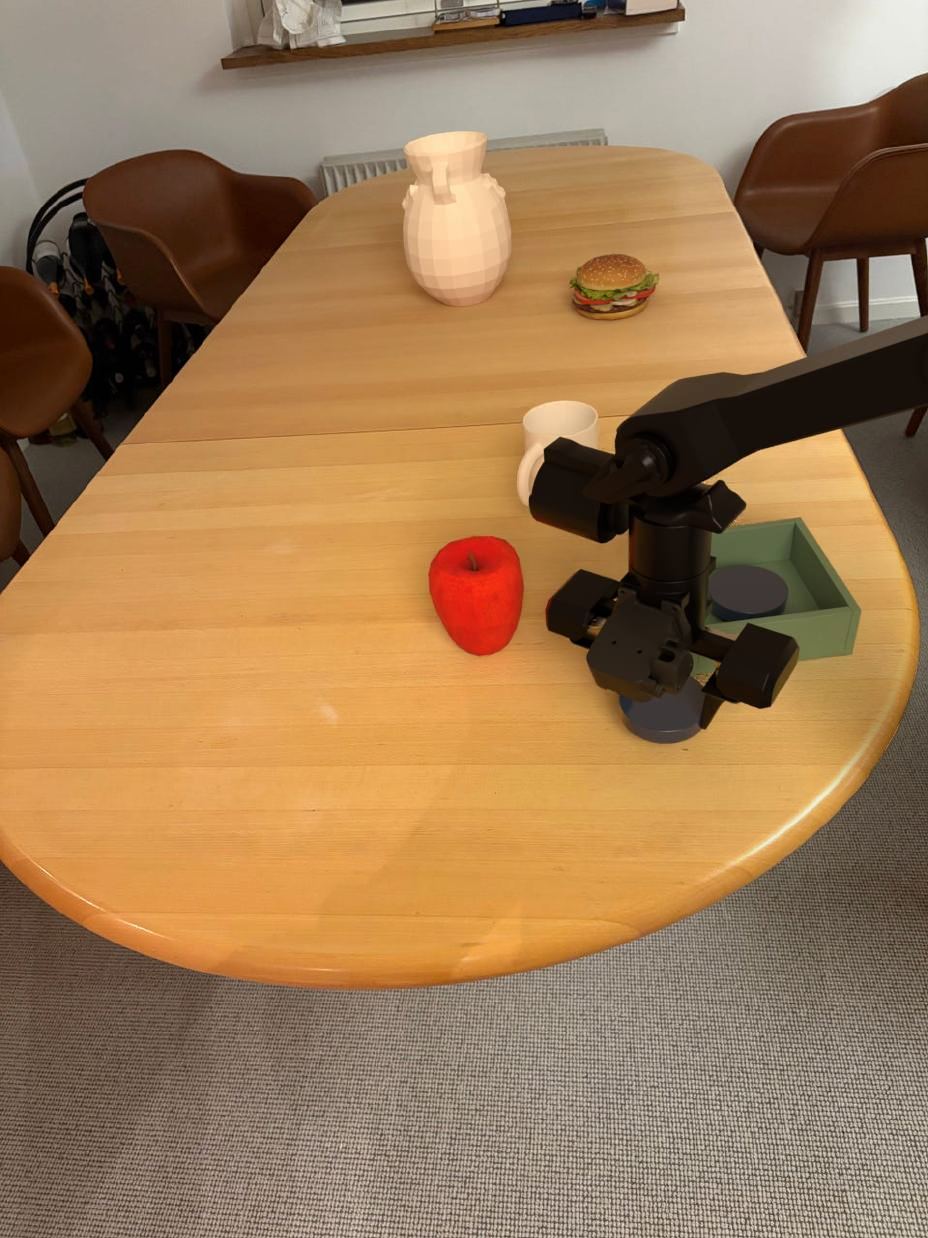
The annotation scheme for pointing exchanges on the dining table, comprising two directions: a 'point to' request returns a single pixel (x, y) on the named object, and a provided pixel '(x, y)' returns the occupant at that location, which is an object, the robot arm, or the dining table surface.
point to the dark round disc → (747, 593)
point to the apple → (478, 592)
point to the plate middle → (665, 715)
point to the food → (612, 287)
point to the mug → (553, 436)
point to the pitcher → (455, 219)
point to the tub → (789, 588)
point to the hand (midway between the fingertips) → (662, 709)
